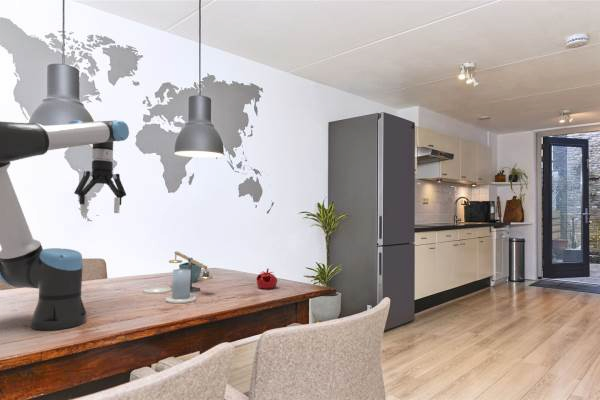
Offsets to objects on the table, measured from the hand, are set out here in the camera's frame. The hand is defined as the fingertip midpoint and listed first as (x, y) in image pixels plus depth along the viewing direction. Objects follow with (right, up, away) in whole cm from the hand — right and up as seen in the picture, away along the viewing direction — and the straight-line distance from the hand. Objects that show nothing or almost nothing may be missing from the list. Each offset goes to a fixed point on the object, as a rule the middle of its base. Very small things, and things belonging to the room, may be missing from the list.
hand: (100, 213), depth 161 cm
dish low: (+32, -36, +1) cm, 48 cm away
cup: (+32, -34, +1) cm, 47 cm away
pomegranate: (+64, -37, +30) cm, 80 cm away
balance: (+31, -36, +19) cm, 51 cm away
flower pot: (+24, -37, +42) cm, 61 cm away
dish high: (+16, -36, +18) cm, 43 cm away
